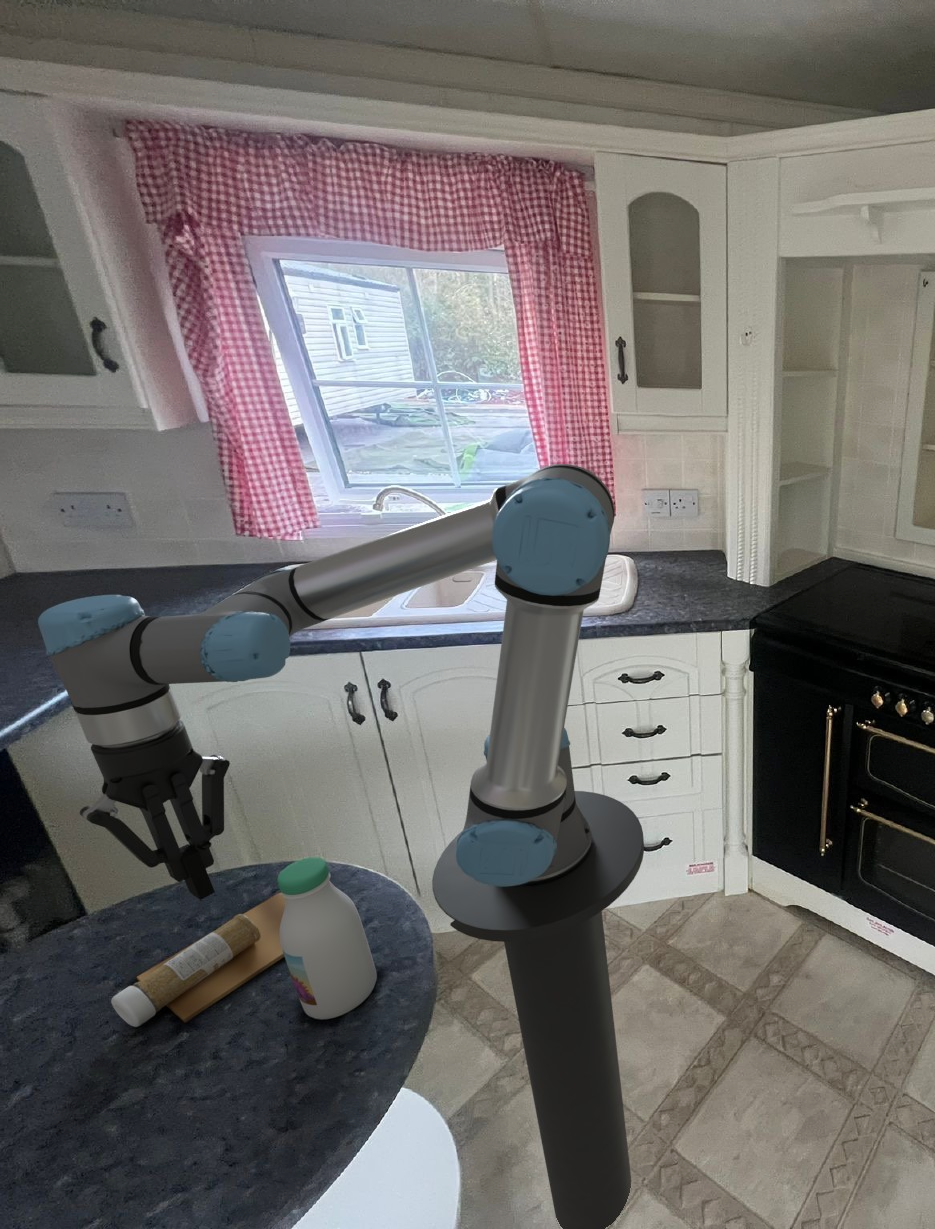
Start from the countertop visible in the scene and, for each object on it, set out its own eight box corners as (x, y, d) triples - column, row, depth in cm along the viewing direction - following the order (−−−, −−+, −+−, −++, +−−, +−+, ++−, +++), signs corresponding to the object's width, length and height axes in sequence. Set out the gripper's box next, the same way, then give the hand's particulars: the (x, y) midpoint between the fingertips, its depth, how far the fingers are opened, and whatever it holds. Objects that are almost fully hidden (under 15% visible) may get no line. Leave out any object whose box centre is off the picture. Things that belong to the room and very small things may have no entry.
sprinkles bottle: (258, 943, 89) (133, 1032, 78) (235, 918, 89) (106, 1004, 77) (265, 932, 87) (138, 1023, 75) (241, 907, 87) (110, 994, 75)
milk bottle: (383, 959, 87) (349, 839, 80) (371, 1009, 81) (333, 884, 73) (313, 977, 84) (271, 855, 77) (295, 1030, 78) (247, 903, 70)
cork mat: (280, 895, 96) (279, 892, 96) (328, 927, 92) (327, 924, 91) (137, 980, 83) (136, 976, 83) (184, 1022, 78) (183, 1019, 78)
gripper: (192, 698, 80) (247, 849, 89) (39, 750, 70) (118, 916, 78) (224, 714, 77) (277, 869, 86) (69, 771, 67) (148, 942, 75)
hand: (202, 891), depth 82 cm, fingers closed
